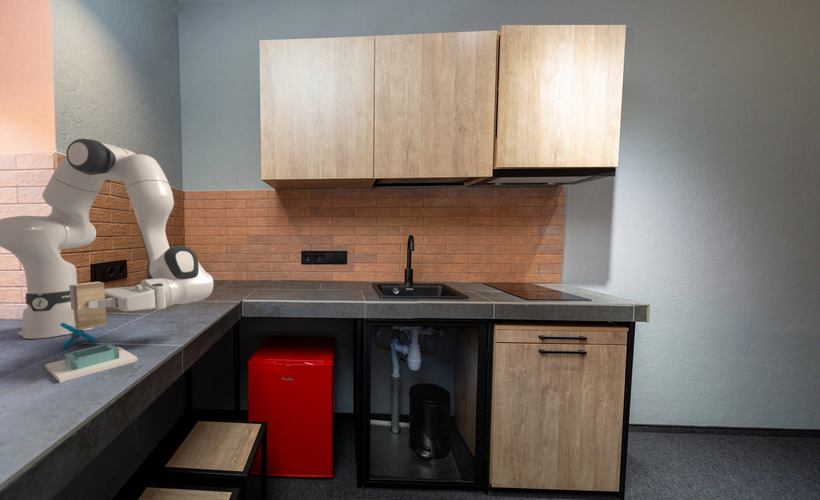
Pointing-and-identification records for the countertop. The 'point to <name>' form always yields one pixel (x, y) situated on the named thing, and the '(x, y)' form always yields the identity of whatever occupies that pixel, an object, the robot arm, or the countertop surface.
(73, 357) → the socket base
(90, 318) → the block
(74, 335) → the blue crossed bar frame
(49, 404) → the countertop surface
